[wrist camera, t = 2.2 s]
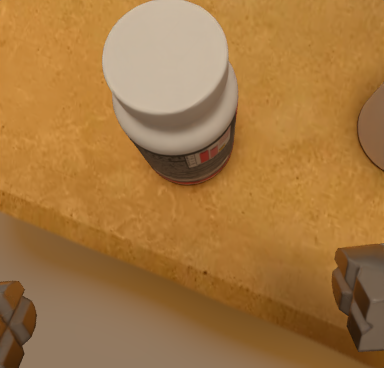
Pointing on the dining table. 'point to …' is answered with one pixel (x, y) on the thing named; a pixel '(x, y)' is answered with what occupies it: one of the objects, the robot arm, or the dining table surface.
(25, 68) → the dining table surface
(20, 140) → the dining table surface
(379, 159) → the mug
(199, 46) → the pill bottle
